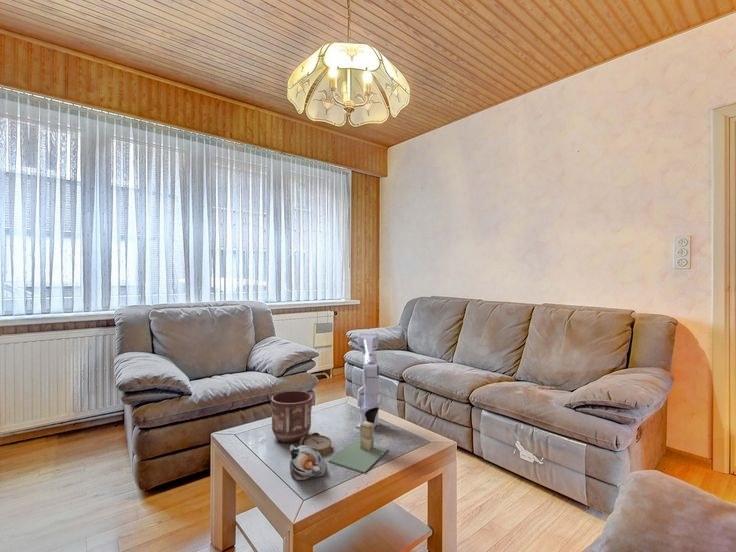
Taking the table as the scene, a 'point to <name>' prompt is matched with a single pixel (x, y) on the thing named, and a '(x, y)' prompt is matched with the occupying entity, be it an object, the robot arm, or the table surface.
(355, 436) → the table surface
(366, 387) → the robot arm
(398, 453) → the table surface
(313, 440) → the alarm clock
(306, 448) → the lucky cat figurine
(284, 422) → the pottery
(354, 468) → the rubber mat
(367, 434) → the birch block
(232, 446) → the table surface
